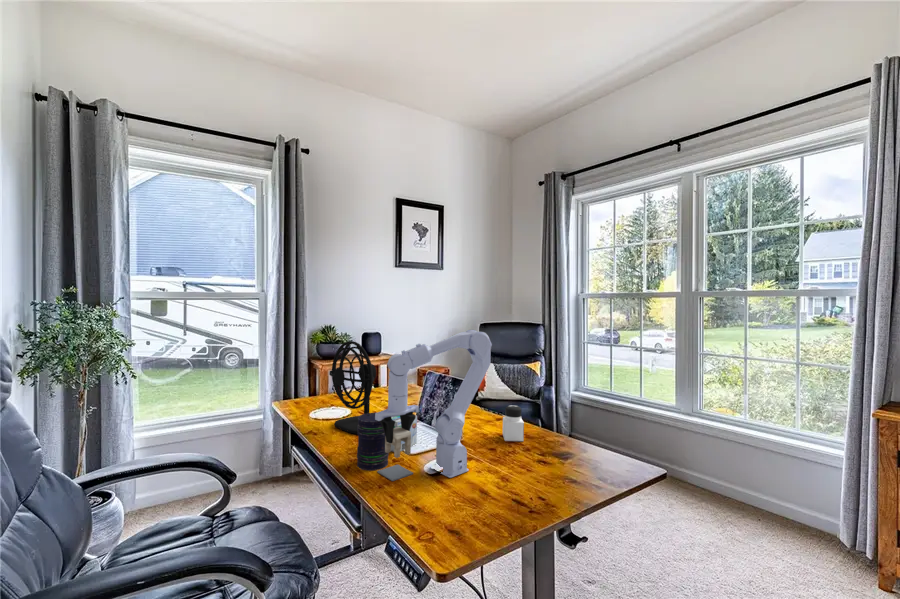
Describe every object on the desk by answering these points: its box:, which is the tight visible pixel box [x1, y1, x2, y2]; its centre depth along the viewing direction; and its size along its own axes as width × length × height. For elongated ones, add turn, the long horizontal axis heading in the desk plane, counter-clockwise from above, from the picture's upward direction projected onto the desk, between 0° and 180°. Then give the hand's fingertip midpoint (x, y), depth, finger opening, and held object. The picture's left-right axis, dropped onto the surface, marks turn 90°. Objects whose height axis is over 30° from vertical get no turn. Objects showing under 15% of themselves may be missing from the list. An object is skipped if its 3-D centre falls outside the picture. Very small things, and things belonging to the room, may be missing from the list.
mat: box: [376, 464, 414, 482], centre depth 123 cm, size 8×8×1 cm
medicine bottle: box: [502, 405, 525, 442], centre depth 156 cm, size 7×7×12 cm
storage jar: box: [356, 412, 390, 471], centre depth 130 cm, size 10×10×15 cm
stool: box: [385, 427, 412, 459], centre depth 122 cm, size 6×5×6 cm
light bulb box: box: [391, 414, 418, 453], centre depth 145 cm, size 11×7×11 cm, turn 143°
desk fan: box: [329, 340, 377, 435], centre depth 166 cm, size 27×18×35 cm, turn 47°
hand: (397, 440), depth 122 cm, fingers closed on stool, 5 cm apart
